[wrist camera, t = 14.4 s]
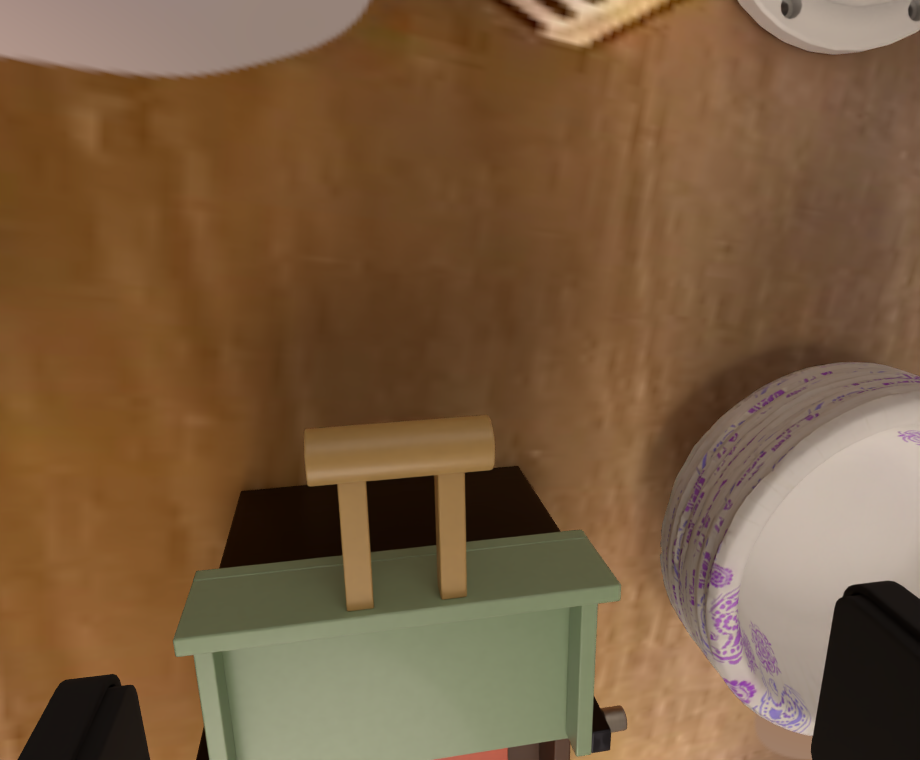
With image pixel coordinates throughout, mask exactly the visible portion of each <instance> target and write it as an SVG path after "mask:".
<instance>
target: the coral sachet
mask: <svg viewBox="0 0 920 760" xmlns="http://www.w3.org/2000/svg"><path fill="white" fill-rule="evenodd" d="M434 760H508V748H503V749H497V750H491V751H484V752H478V753H472V754H466V755H459V756H453V757H447V758H440V759H434Z"/></svg>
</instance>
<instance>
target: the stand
mask: <svg viewBox="0 0 920 760" xmlns="http://www.w3.org/2000/svg"><path fill="white" fill-rule="evenodd" d="M366 486H367V502H368V518H369V534H370V550H371V552H378V551H387V550H396V549H406V548H415V547H424V546H433V545H436V517H435V486H434V475H431V476H421V477H410V478H399V479H388V480H377V481H366ZM465 507H466V542H471V541H480V540H489V539H498V538H508V537H517V536H526V535H535V534H545V533H554V532H561V531H560V530H559V528H558V527H557V525H556V524H555V522H554V521H553V519H552V517H551V516H550V514H549V513H548V511H547V510H546V508H545V507H544V505H543V504H542V502H541V501H540V499H539V497H538V496H537V494H536V493H535V491H534V490H533V488H532V487H531V485H530V484H529V482H528V480H527V479H526V477H525V476H524V474H523V473H522V471H521V470H520V468H519V467H518V466H513V467H502V468H493V469H492V470H486V471H475V472H465ZM341 555H342V542H341V529H340V515H339V502H338V489H337V484H333V485H322V486H311V487H310V486H308V485H304V486H293V487H282V488H271V489H260V490H249V491H241V493H240V497H239V500H238V504H237V507H236V511H235V514H234V518H233V521H232V525H231V528H230V532H229V536H228V539H227V543H226V546H225V550H224V553H223V557H222V560H221V564H220V567H219V569H220V568H230V567H239V566H248V565H258V564H267V563H276V562H285V561H295V560H304V559H313V558H322V557H332V556H341ZM626 729H627V718H626V714H625V712H624V709H623V708H622V707H621V706H613V707H606V708H600V707H599V705H598V703H597V701H596V699H595V697H594V699H593V722H592V745H591V753H596V752H602V751H608V750H610V742H611V733H612V732H618V731H624V730H626ZM196 760H209V754H208V748H207V741H206V735H205V728H203V732H202V737H201V741H200V746H199V750H198V754H197V759H196Z"/></svg>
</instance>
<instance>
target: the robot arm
mask: <svg viewBox="0 0 920 760" xmlns="http://www.w3.org/2000/svg"><path fill="white" fill-rule="evenodd" d="M738 2H739V4H740V5H741V6H742V7H743V8H744V9H745V10H746V11H747V12H748V14H749V15H750V16H751V17H752V18H753V19H754V20H755V21H756V22H757V23H758V24H759V25H760V26H761V27H762V28H764V29H765V30H767V31H768V32H770V33H771V34H773V35H774V36H776V37H777V38H779V39H780V40H781V41H783V42H785V43H788V44H791V45H793V46H796V47H798V48H801V49H804V50H806V51H810V52H818V53H825V54H833V55H836V54H846V53H855V52H863V51H866V50H870V49H874V48H878V47H882V46H886V45H890V44H892V43H894V42H896V41H899V40H901V39H903V38H905V37H907V36H910V35H912V34H914V33H916V32H917V31H919V30H920V0H738ZM781 10H782V12H781ZM811 754H812V760H920V599H919V598H918V597H917V596H915V595H914V594H913V593H911V592H910V591H909V590H907V589H906V588H905V587H903V586H902V585H900V584H898V583H897V582H895V581H888V580H887V581H879V582H871V583H862V584H854V585H851V586H848V588H847V589H846V590H845V591H844V594H843V597H841V598H839V599H838V600H837V601H836V604H835V607H834V613H833V619H832V625H831V631H830V637H829V643H828V649H827V655H826V661H825V667H824V673H823V679H822V684H821V690H820V696H819V702H818V708H817V714H816V720H815V726H814V732H813V738H812V744H811ZM18 760H150V757H149V752H148V747H147V741H146V736H145V731H144V726H143V721H142V716H141V711H140V706H139V701H138V695H137V692H136V689H135V687H134V686H133V685H125V686H121V683H120V680H119V678H118V677H117V675H114V674H110V675H102V676H94V677H86V678H77V679H69V680H65V681H63V682H61V683H60V684H59V686H58V687H57V689H56V690H55V692H54V694H53V696H52V698H51V699H50V701H49V703H48V705H47V707H46V709H45V710H44V712H43V714H42V716H41V718H40V720H39V721H38V723H37V725H36V727H35V729H34V731H33V732H32V734H31V736H30V738H29V740H28V742H27V743H26V745H25V747H24V749H23V751H22V753H21V754H20V756H19V758H18Z"/></svg>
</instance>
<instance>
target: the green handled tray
mask: <svg viewBox="0 0 920 760" xmlns="http://www.w3.org/2000/svg"><path fill="white" fill-rule="evenodd" d="M304 462H305V473H306V481H307V485H308V486H310V487H311V486H322V485H333V484H337V489H338V502H339V515H340V529H341V542H342V555H341V556H332V557H322V558H313V559H304V560H295V561H285V562H276V563H267V564H258V565H248V566H239V567H230V568H220V569H211V570H202V571H196V574H195V577H194V579H193V583H192V586H191V589H190V592H189V595H188V598H187V601H186V604H185V607H184V610H183V613H182V616H181V619H180V622H179V624H178V627H177V630H176V633H175V636H174V639H173V644H174V650H175V655H176V657H181V656H189V655H194V662H195V669H196V675H197V682H198V688H199V695H200V702H201V708H202V715H203V721H204V728H205V735H206V741H207V748H208V754H209V760H434V759H440V758H447V757H453V756H459V755H466V754H472V753H478V752H484V751H491V750H497V749H503V748H509V747H516V746H522V745H528V744H535V743H541V742H547V741H553V740H560V739H566V738H569V741H570V743H571V745H572V748H573V750H574V752H575V755H576V756H577V757H578V756H585V755H590V754H591V745H592V722H593V699H594V676H595V653H596V631H597V608H598V603H606V602H614V601H619V600H620V596H621V584H620V583H619V581H618V580H617V579H616V577H615V576H614V574H613V573H612V572H611V570H610V569H609V567H608V566H607V565H606V563H605V562H604V560H603V559H602V558H601V556H600V555H599V553H598V552H597V551H596V549H595V548H594V546H593V545H592V544H591V542H590V541H589V539H587V536H586V535H585V533H584V532H583V531H582V530H572V531H563V532H554V533H545V534H535V535H526V536H517V537H508V538H498V539H489V540H480V541H471V542H466V507H465V472H475V471H486V470H492V469H493V467H494V463H495V438H494V431H493V426H492V423H491V420H490V418H489V416H488V415H476V416H463V417H450V418H437V419H424V420H411V421H398V422H385V423H373V424H360V425H347V426H334V427H321V428H308V429H305V430H304ZM431 475H434V486H435V517H436V545H433V546H424V547H415V548H406V549H396V550H387V551H378V552H371V550H370V534H369V518H368V502H367V486H366V481H377V480H388V479H399V478H410V477H421V476H431Z"/></svg>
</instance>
